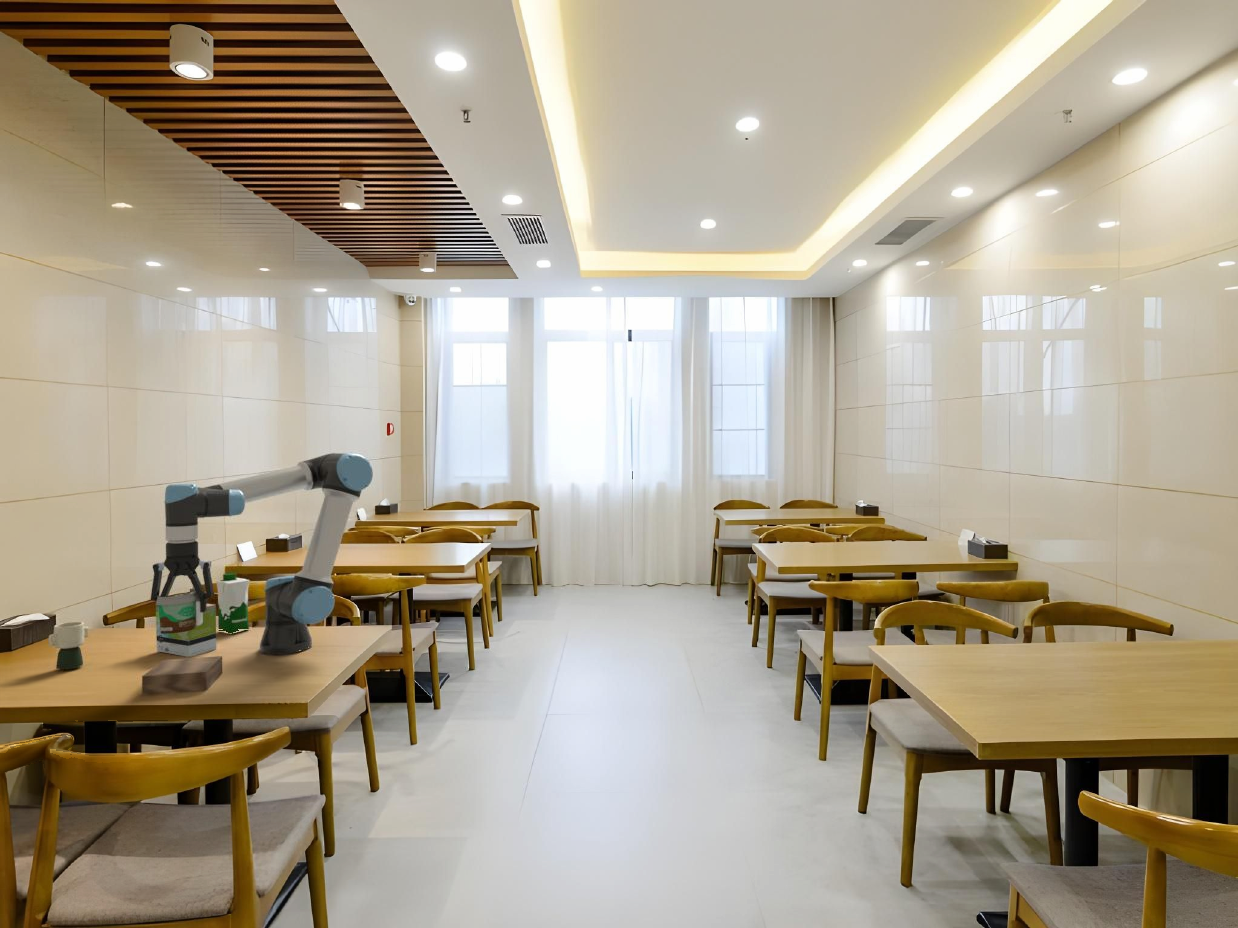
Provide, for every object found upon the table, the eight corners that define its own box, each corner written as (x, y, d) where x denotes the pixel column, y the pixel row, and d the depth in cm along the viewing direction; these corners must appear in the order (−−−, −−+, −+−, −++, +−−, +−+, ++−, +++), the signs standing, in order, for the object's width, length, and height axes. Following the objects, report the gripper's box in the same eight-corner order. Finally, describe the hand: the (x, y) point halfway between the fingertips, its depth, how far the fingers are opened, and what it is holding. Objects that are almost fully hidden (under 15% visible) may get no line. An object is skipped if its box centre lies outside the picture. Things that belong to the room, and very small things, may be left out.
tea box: (155, 652, 228) (154, 605, 227) (184, 644, 237) (184, 599, 237) (188, 657, 222) (188, 609, 222) (217, 649, 231) (217, 603, 231)
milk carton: (238, 627, 260) (237, 571, 260) (253, 630, 255) (252, 573, 255) (214, 632, 253) (213, 575, 252) (228, 635, 248) (227, 577, 247)
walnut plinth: (222, 673, 206) (222, 655, 206) (206, 690, 192) (206, 671, 192) (163, 677, 203) (162, 659, 203) (142, 695, 188) (142, 676, 188)
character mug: (80, 662, 218) (79, 619, 217) (97, 664, 215) (96, 620, 215) (41, 672, 207) (40, 627, 207) (58, 675, 205) (57, 629, 205)
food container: (176, 636, 190) (176, 598, 190) (156, 634, 191) (155, 597, 191) (211, 624, 202) (210, 589, 202) (192, 623, 204) (191, 588, 203)
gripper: (227, 538, 203) (228, 619, 203) (145, 540, 198) (146, 624, 198) (219, 541, 195) (220, 626, 196) (134, 544, 190) (135, 630, 191)
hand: (183, 624), depth 197 cm, fingers closed on food container, 7 cm apart
